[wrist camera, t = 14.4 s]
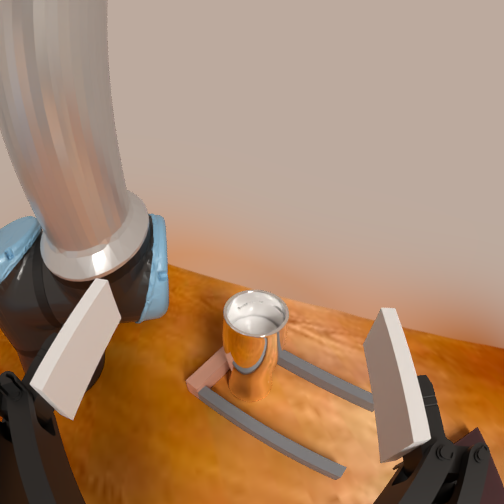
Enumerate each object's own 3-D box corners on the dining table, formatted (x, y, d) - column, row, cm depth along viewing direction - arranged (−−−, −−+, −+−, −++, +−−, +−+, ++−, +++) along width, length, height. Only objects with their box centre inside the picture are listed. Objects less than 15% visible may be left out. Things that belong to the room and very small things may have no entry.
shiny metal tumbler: (229, 408, 33) (225, 342, 24) (222, 366, 38) (217, 291, 30) (280, 400, 34) (299, 332, 26) (269, 360, 40) (280, 285, 31)
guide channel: (188, 390, 34) (185, 380, 33) (245, 336, 43) (245, 324, 42) (335, 480, 24) (343, 475, 22) (375, 403, 33) (384, 394, 31)
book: (468, 433, 26) (480, 424, 24) (501, 516, 10) (515, 510, 8) (410, 469, 23) (423, 462, 22) (443, 564, 8) (458, 563, 6)
